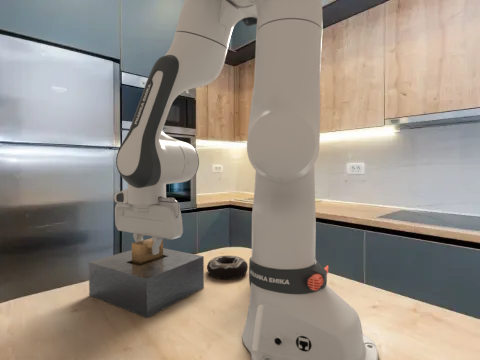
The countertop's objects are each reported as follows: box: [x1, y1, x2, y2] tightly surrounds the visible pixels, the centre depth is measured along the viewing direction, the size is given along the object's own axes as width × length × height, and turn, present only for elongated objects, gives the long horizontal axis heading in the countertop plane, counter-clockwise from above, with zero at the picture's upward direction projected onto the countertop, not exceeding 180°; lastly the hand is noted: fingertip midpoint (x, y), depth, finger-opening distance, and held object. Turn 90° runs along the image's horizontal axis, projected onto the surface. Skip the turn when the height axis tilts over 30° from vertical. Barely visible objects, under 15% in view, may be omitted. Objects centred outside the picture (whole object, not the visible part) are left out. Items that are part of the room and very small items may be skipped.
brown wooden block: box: [131, 237, 164, 266], centre depth 73 cm, size 3×7×5 cm, turn 148°
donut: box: [206, 255, 249, 280], centre depth 86 cm, size 12×12×4 cm
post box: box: [88, 247, 205, 319], centre depth 73 cm, size 20×18×8 cm
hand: (148, 252), depth 73 cm, fingers closed on brown wooden block, 3 cm apart
